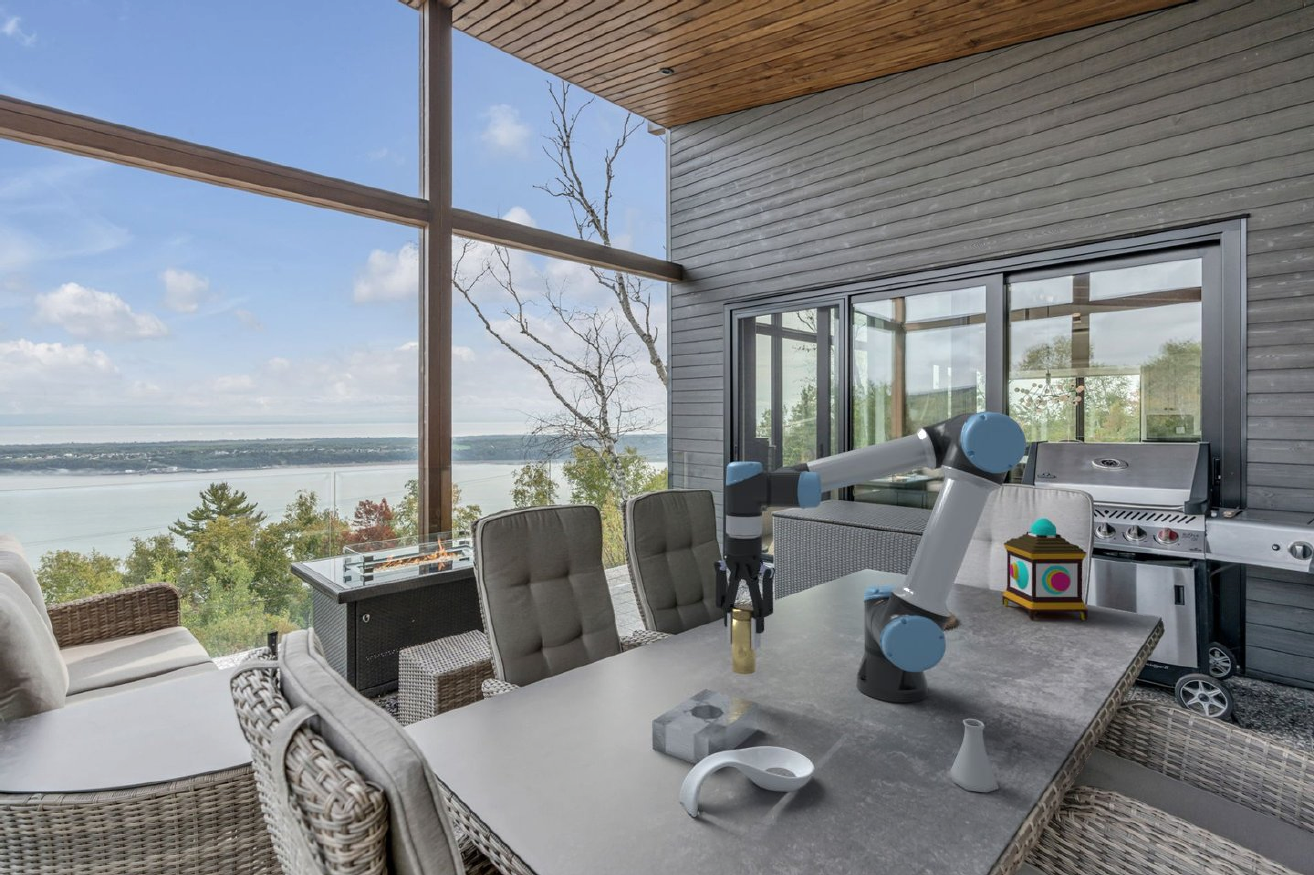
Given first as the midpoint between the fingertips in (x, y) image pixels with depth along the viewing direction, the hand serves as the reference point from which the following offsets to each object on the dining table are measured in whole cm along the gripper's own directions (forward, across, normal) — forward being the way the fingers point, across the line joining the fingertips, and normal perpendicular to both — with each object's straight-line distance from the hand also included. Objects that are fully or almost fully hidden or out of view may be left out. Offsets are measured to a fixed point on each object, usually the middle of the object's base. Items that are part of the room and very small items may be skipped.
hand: (743, 644), depth 139 cm
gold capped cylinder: (+5, 0, 0) cm, 5 cm away
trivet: (+14, -10, -87) cm, 89 cm away
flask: (+13, -45, +3) cm, 47 cm away
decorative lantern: (+13, -42, -117) cm, 125 cm away
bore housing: (+13, -2, +18) cm, 22 cm away
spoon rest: (+14, -16, +28) cm, 35 cm away
